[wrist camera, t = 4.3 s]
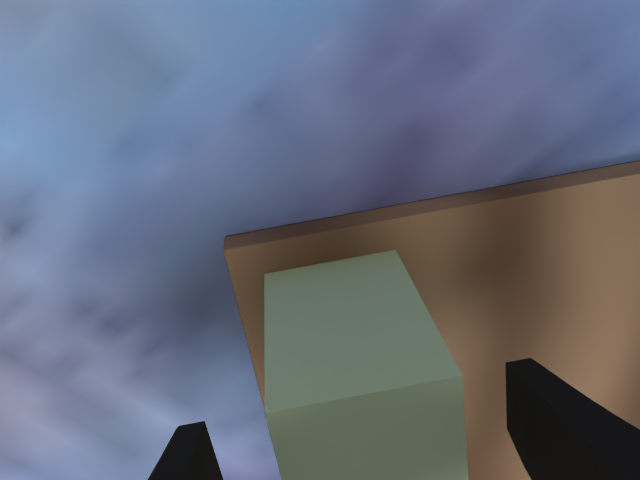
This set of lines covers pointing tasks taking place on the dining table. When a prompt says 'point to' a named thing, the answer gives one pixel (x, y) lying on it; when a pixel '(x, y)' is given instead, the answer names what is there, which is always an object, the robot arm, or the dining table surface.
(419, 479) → the sage block
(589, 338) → the service board
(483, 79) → the dining table surface
